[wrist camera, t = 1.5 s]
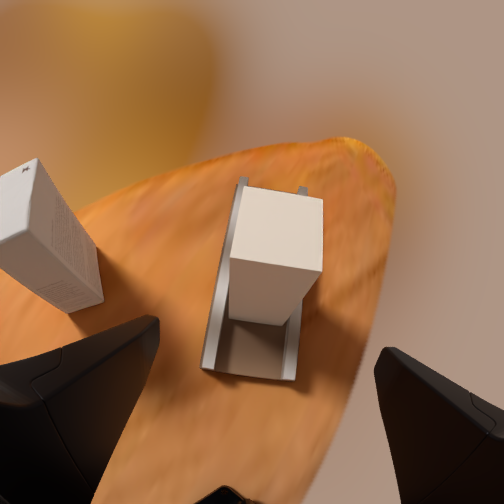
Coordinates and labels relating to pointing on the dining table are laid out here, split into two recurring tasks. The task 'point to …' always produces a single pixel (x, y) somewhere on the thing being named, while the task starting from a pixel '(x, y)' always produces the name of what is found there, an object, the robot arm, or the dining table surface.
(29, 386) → the robot arm
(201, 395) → the dining table surface
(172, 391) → the dining table surface
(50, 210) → the skincare box
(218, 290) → the track
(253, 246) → the slider block
